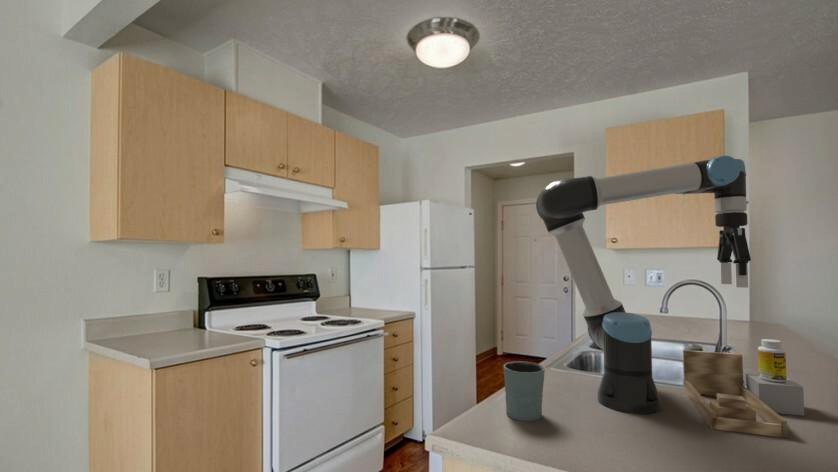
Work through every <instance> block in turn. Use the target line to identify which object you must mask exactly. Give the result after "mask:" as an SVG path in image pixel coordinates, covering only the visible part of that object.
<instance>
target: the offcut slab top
mask: <svg viewBox="0 0 838 472" xmlns="http://www.w3.org/2000/svg"><path fill="white" fill-rule="evenodd" d="M709 406H710V407H711V408H712V410H713V411H714V412H715V413H716V417H723V418H732V419H741V420H750V421H757V414H756V410H754V409H753V408H751V407H750V406H748V405H747V404H746V410H745V409H738V408H730V407H723V406H719V404H718V402H717V401H709Z"/></svg>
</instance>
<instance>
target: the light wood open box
mask: <svg viewBox="0 0 838 472" xmlns="http://www.w3.org/2000/svg"><path fill="white" fill-rule="evenodd" d="M743 363H744V362H743V354H742V353H733V352H732V353H731V352H721V351H720V352H718V351H703V350H702V351H701V350H690V349H689V350H688V349H682V365H683V367H682V368H683V369H682V370H683V372H682V373H683V392H684V391H685V392H684V393H686V394H687V395H686V394H685V395H686V397H687V398H688V397H689V398H688V399H689V401H690V402H691V403H692V405H693V406H694V407H695V408H696V410H697V412H698V413H699V414H700V415H701V417H702V418H703V419H704V421H705V422H706V423H707V425H708V427H709V428H710V429H713V430H720V431H727V432H728V431H729V432H736V433H737V432H738V433H744V434H753V435H760V436H768V437H769V436H770V437H778V438H785V439H788V421H787V420H786V419H784V418H783V417H782V416H781V415H780V414H779V413H776V412H775V411H773V410H772V409H771V408H770V407H768V406H767V405H766V404H765V403H764V402H762V401H761V400H760V399H759V398H758V397H756V396H755V395H754V394H753V393H751V392H750V391H749V390H748V389H747V388H746V387H745V386H744V365H743ZM717 393H718V394H727V395H735V396H743V398H744V399H745V400H746V404H747V405H748V406H750V407H751V408H753V409H754V410H756V416H759V418H760V419H761V420H762V421H758V420H756V421H750V420H741V419H732V418H723V417H716V413H715V412H714V411H713V410H712V408H711V407H710V404H708V402H707V401H706V400H705V399H704V397H703V395H700V394H706V395H705V396H710V395H714V396H713V397H717Z"/></svg>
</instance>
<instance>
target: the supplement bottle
mask: <svg viewBox="0 0 838 472" xmlns="http://www.w3.org/2000/svg"><path fill="white" fill-rule="evenodd" d="M760 345H761V346H758V347H757V358H758V359H757V360H758V361H757V362H758V375H759V377H760V378H761V379H763V380H767V381H772V382H785V381H786V377H787V359H786V355H787V354H786V350H785V349H784V348H782V341H781V340H778V339H770V338H763V339H761V344H760Z"/></svg>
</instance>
